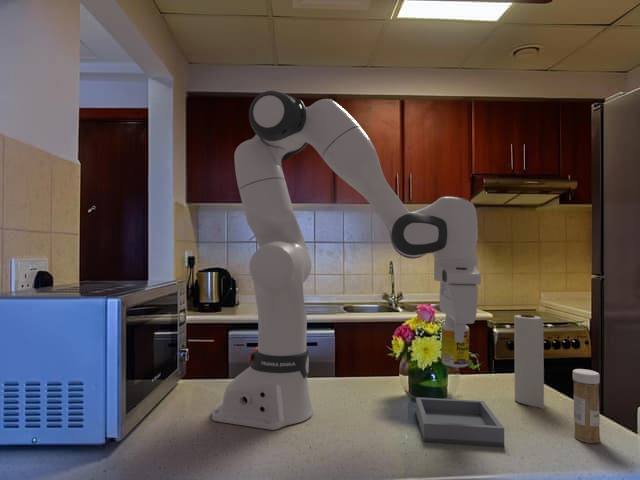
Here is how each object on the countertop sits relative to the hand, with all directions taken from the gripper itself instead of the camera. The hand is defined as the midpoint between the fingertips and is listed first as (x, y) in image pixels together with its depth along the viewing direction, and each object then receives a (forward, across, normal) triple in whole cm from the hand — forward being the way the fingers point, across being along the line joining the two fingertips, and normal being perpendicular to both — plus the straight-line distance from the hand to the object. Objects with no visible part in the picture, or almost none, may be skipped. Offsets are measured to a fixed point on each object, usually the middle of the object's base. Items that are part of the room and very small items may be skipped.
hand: (455, 338), depth 88 cm
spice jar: (+19, +2, +25) cm, 31 cm away
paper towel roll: (+19, -18, +21) cm, 34 cm away
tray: (+19, 0, 0) cm, 19 cm away
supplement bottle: (+6, 0, 0) cm, 6 cm away
